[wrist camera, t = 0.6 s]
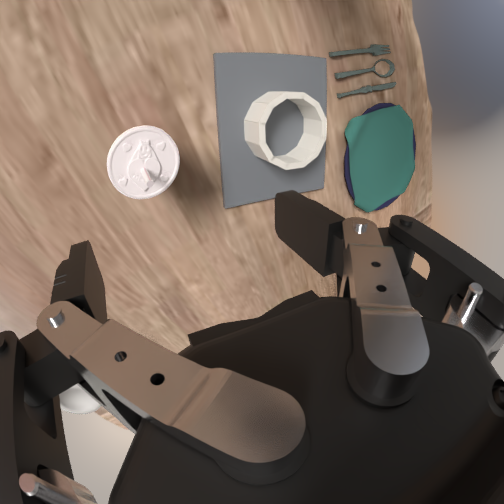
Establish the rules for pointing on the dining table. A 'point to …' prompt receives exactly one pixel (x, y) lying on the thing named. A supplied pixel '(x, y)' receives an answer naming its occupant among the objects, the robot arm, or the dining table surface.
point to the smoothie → (143, 162)
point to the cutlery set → (377, 145)
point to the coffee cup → (77, 401)
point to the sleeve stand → (270, 124)
